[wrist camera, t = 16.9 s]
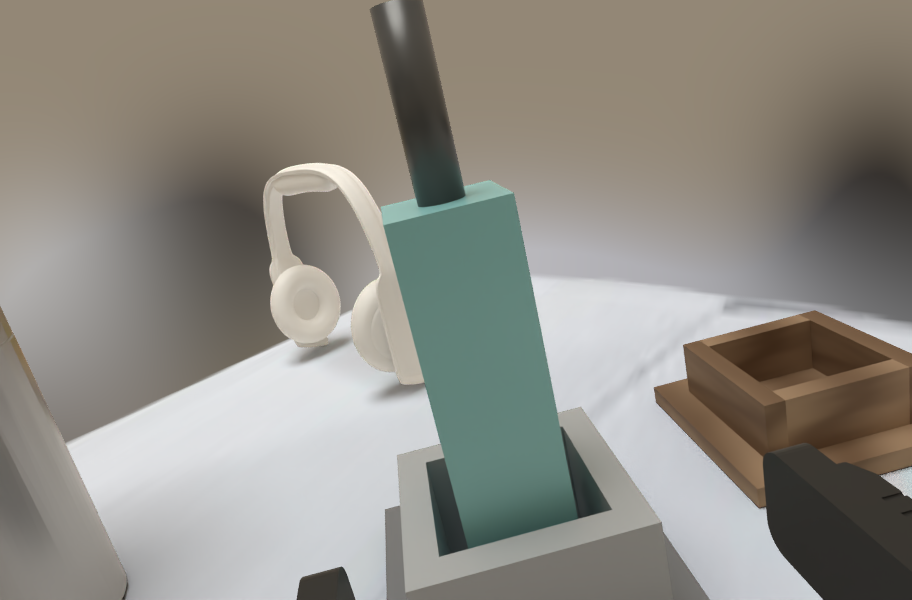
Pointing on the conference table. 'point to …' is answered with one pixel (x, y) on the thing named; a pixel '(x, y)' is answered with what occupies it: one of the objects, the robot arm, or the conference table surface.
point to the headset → (313, 292)
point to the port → (535, 537)
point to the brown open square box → (794, 397)
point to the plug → (470, 309)
